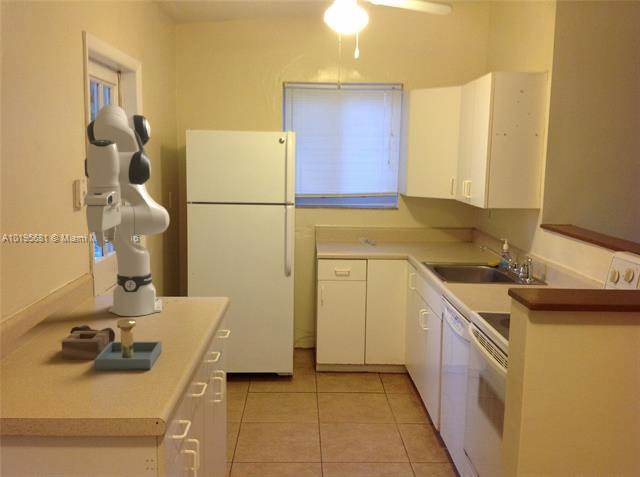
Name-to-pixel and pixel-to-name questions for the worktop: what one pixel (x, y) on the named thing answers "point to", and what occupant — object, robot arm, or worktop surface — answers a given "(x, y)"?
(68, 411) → the worktop surface
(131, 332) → the pin
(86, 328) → the bolt
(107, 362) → the tray
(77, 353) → the holder
